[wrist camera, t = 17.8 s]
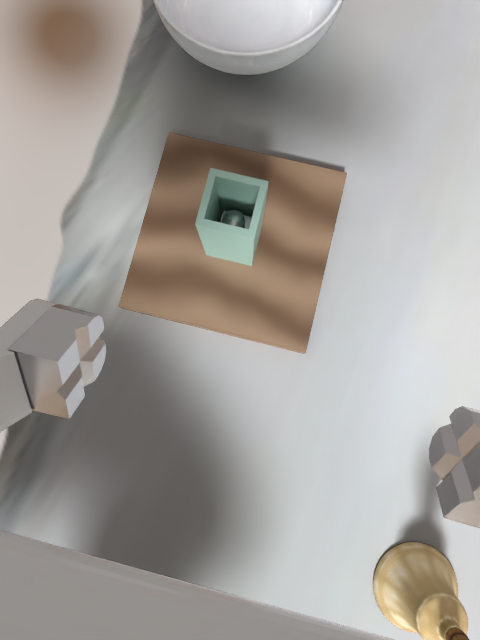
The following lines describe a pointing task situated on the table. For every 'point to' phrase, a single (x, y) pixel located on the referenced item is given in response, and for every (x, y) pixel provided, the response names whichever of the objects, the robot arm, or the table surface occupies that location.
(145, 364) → the table surface
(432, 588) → the hand bell
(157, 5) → the serving bowl
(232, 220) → the post
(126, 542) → the table surface
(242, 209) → the sleeve
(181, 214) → the board
